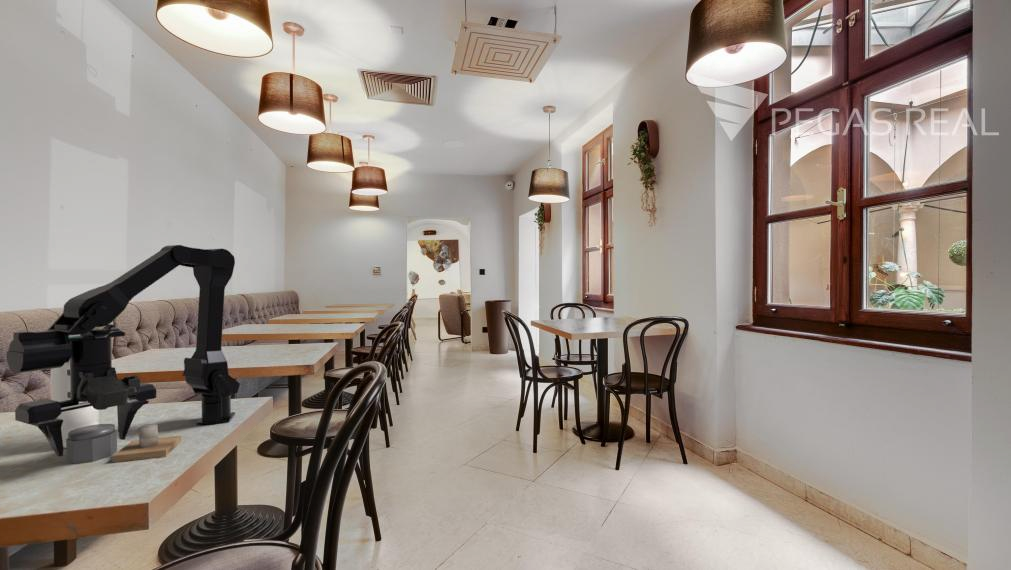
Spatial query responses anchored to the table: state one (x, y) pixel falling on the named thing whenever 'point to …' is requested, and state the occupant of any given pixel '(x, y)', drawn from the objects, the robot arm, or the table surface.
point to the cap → (91, 443)
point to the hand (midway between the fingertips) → (92, 447)
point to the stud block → (147, 445)
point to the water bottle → (59, 393)
